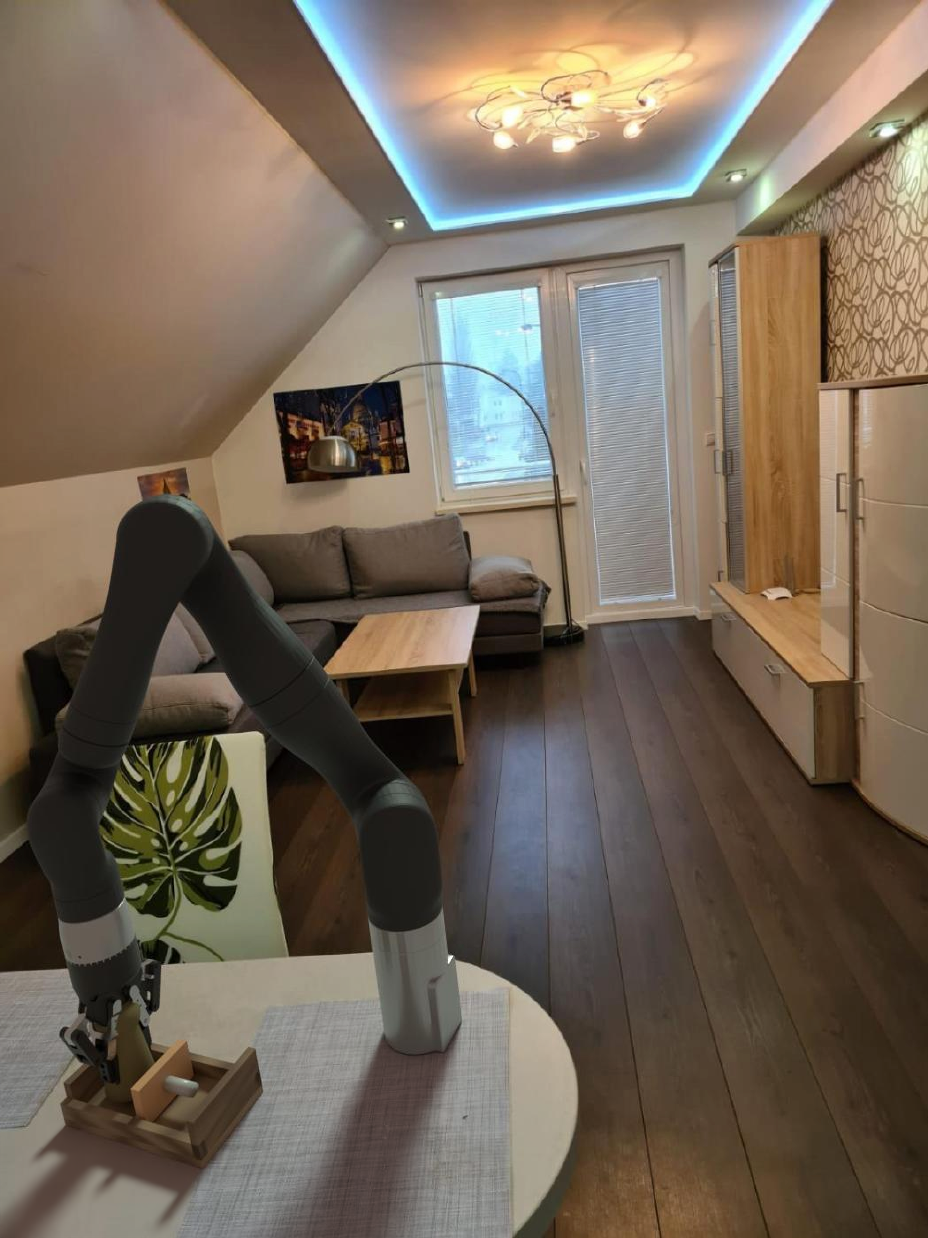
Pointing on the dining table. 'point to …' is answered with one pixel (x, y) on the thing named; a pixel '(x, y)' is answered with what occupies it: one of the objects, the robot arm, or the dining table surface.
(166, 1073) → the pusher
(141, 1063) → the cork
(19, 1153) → the dining table surface
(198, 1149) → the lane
